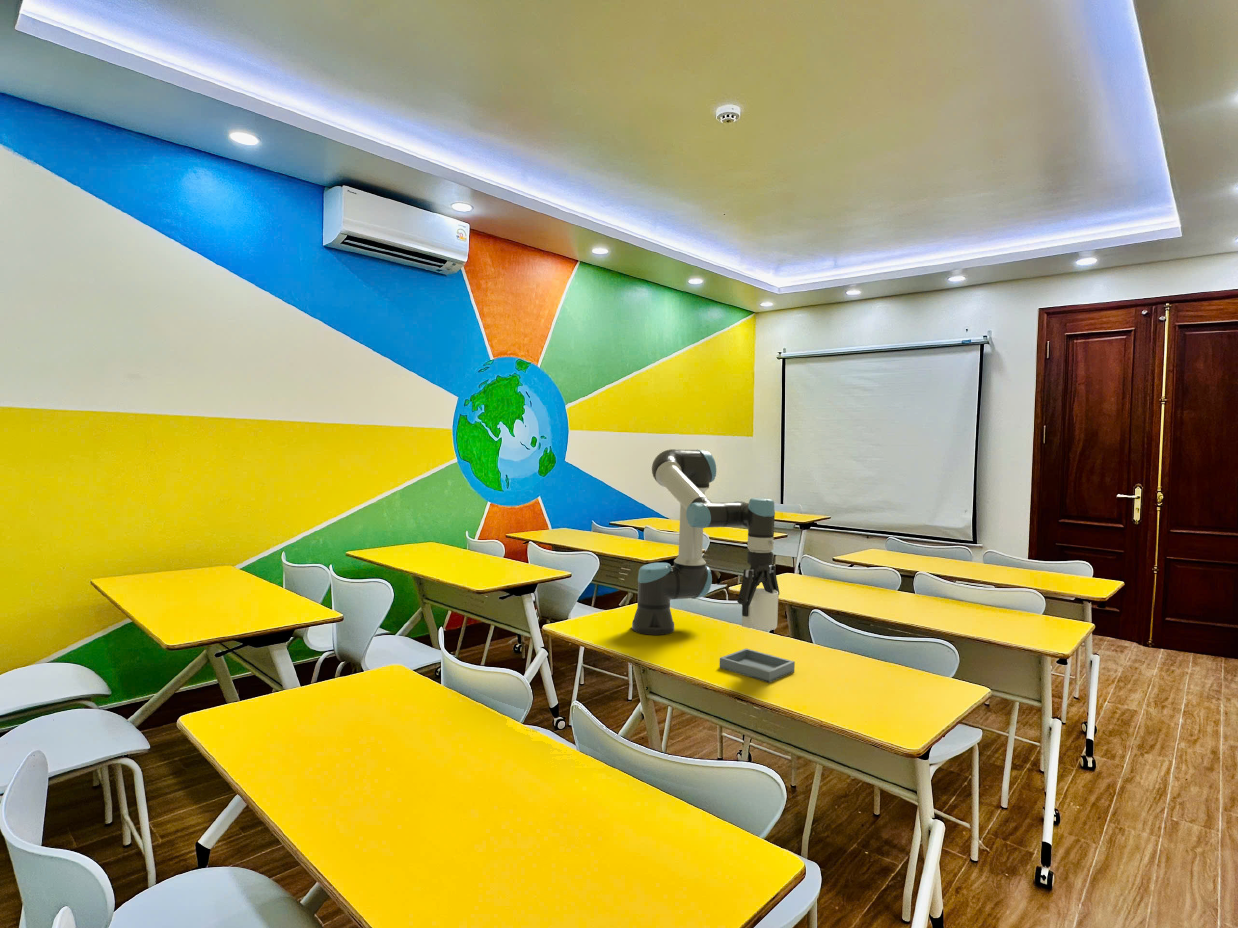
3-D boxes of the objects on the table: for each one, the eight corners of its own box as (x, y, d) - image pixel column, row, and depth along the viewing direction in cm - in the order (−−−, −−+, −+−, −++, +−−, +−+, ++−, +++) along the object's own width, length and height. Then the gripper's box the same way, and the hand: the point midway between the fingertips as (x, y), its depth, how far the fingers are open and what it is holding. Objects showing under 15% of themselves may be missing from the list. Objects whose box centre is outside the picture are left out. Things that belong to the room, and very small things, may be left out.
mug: (732, 626, 200) (734, 590, 199) (763, 621, 206) (764, 587, 205) (752, 633, 192) (753, 596, 192) (783, 628, 198) (784, 592, 198)
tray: (719, 667, 200) (719, 657, 200) (745, 657, 210) (746, 648, 210) (769, 682, 189) (769, 672, 188) (794, 671, 199) (794, 661, 199)
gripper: (748, 556, 187) (746, 633, 188) (792, 548, 204) (790, 618, 205) (726, 553, 192) (724, 627, 193) (771, 545, 210) (769, 614, 210)
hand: (758, 623), depth 199 cm, fingers closed on mug, 12 cm apart
